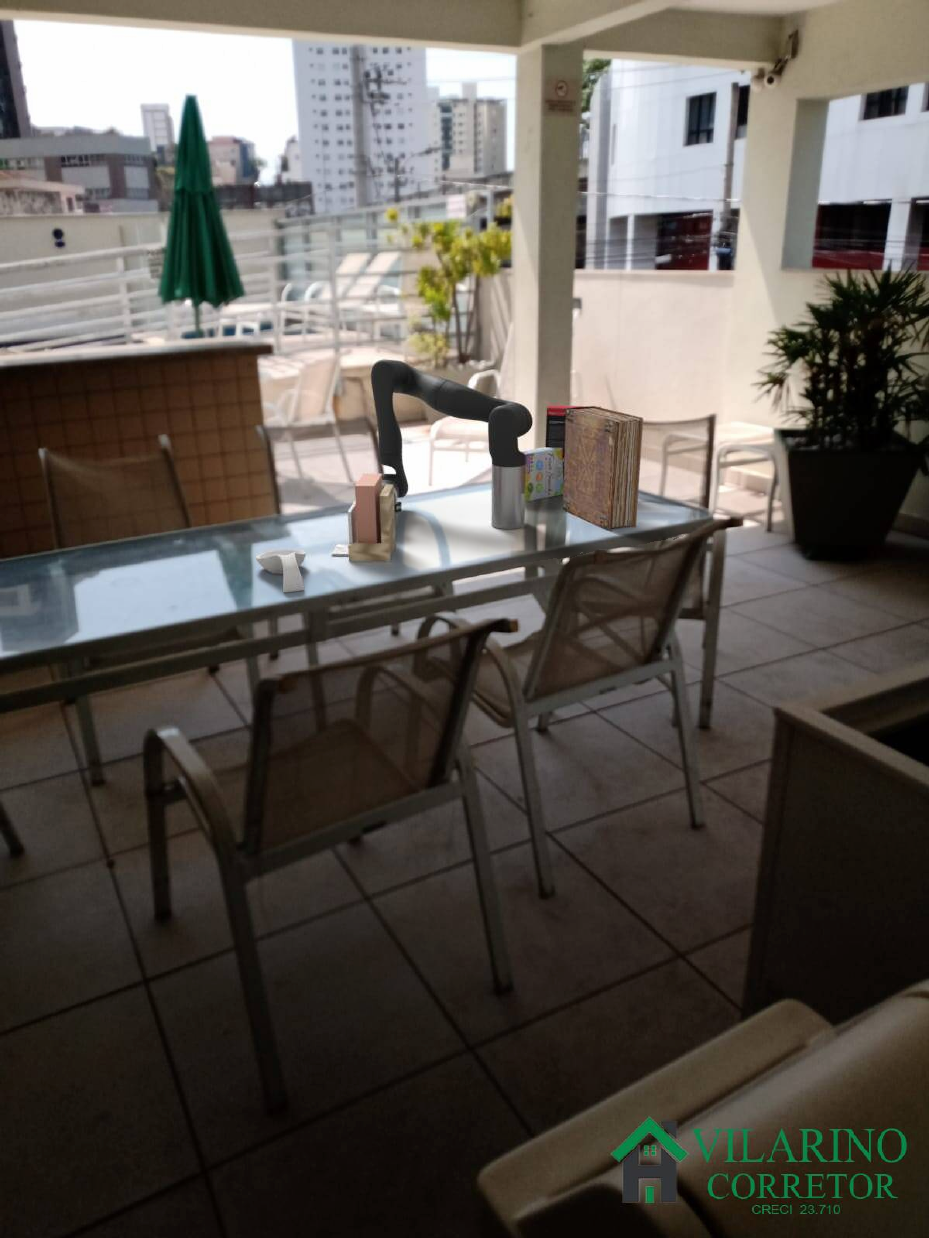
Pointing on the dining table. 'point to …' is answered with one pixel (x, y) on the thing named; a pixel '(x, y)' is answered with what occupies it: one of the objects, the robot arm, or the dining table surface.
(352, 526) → the bookend
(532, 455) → the snack box
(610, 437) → the book
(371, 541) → the book
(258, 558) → the spoon rest
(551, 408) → the graphics card box
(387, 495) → the board
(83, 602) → the dining table surface
